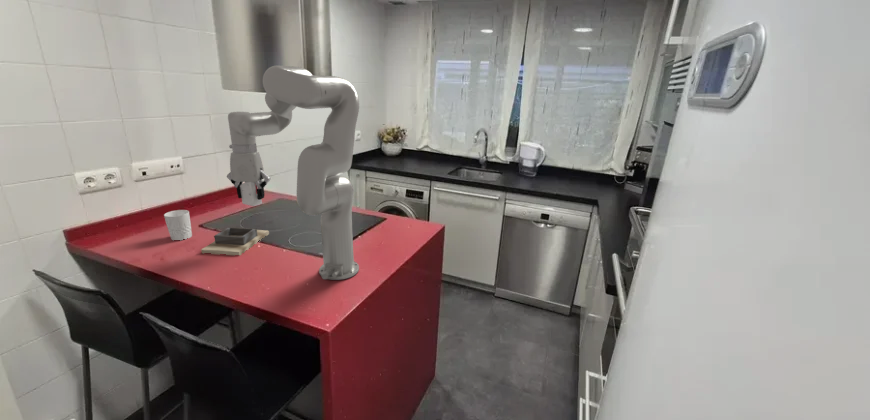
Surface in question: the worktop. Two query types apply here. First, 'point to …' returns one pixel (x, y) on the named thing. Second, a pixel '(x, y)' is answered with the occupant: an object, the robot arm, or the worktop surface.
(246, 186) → the white wedge bracket
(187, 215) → the white cup
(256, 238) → the board
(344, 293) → the worktop surface
